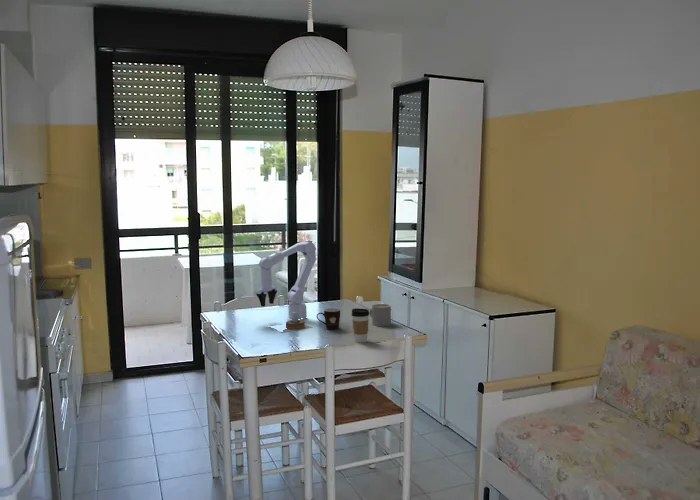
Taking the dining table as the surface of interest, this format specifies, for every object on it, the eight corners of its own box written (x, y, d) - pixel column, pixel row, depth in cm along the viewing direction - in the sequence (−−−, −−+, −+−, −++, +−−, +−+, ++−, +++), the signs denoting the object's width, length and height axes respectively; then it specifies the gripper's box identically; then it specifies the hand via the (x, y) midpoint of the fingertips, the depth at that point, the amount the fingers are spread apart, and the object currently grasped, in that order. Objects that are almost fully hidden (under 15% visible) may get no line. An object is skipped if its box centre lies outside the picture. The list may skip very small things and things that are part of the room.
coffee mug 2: (394, 324, 303) (394, 306, 302) (378, 327, 298) (378, 308, 297) (380, 320, 314) (380, 302, 313) (365, 322, 309) (364, 304, 308)
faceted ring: (298, 324, 306) (298, 319, 306) (307, 327, 299) (307, 322, 298) (283, 327, 301) (283, 321, 301) (292, 330, 294) (291, 324, 293)
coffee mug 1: (343, 327, 299) (342, 308, 298) (337, 331, 291) (337, 312, 290) (322, 326, 303) (322, 307, 301) (316, 330, 294) (315, 310, 293)
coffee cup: (351, 338, 276) (350, 307, 274) (368, 337, 277) (368, 307, 275) (352, 343, 268) (352, 311, 266) (370, 342, 268) (370, 310, 267)
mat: (296, 321, 314) (296, 321, 314) (312, 328, 299) (312, 327, 299) (266, 326, 304) (266, 326, 304) (282, 333, 289) (282, 332, 289)
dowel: (296, 326, 302) (295, 311, 301) (299, 327, 300) (298, 312, 299) (291, 327, 300) (290, 312, 299) (294, 328, 298) (294, 313, 297)
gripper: (268, 277, 319) (269, 301, 320) (252, 281, 306) (253, 306, 308) (278, 278, 316) (279, 302, 317) (262, 282, 303) (263, 307, 304)
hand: (267, 304), depth 312 cm, fingers open, 7 cm apart
